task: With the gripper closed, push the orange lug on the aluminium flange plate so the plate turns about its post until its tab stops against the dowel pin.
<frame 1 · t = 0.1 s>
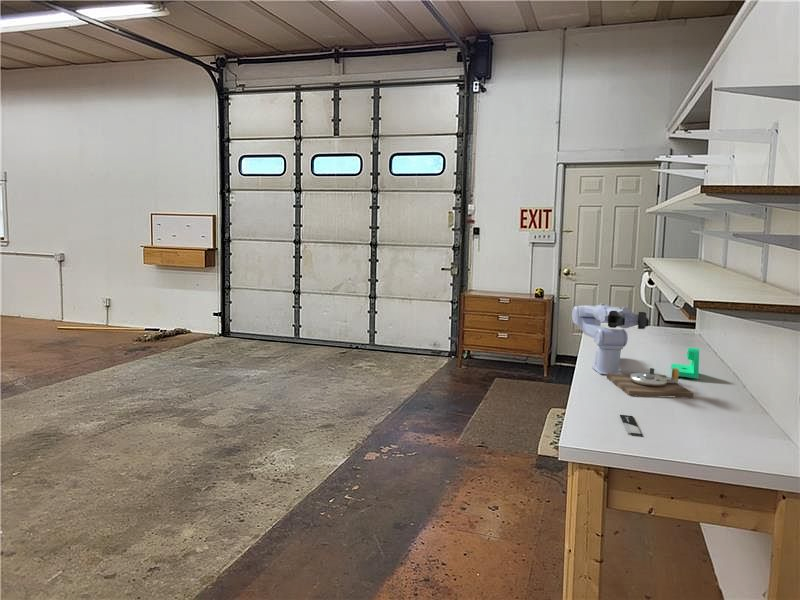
hand: (635, 322, 189), 22 cm above the workbench, tool horizontal, fingers open, 7 cm apart
computer memory module: (630, 428, 157), on the workbench
fixture board: (647, 387, 194), on the workbench
dowel pin: (650, 382, 200), resting on fixture board
flange plate: (654, 375, 193), point 4 cm above the workbench, hinge at 0.0°
camera mount: (683, 376, 211), on the workbench
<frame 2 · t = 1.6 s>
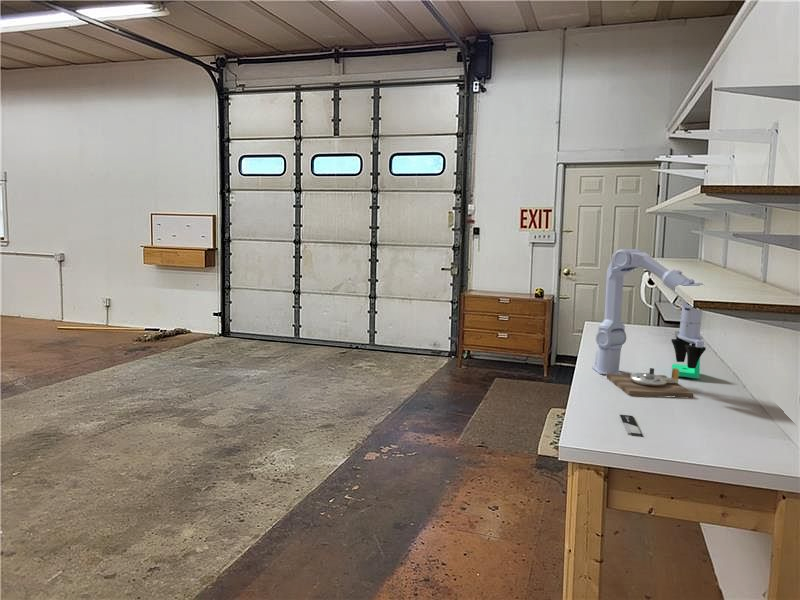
hand: (685, 364, 187), 9 cm above the workbench, tool pointing down, fingers open, 7 cm apart
nothing on the workbench moved.
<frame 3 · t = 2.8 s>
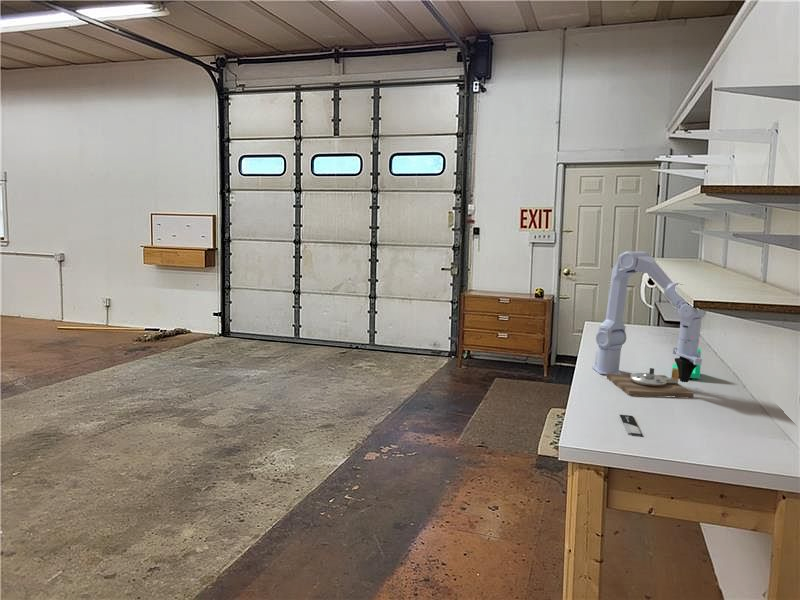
hand: (683, 381, 188), 4 cm above the workbench, tool pointing down, fingers closed
nothing on the workbench moved.
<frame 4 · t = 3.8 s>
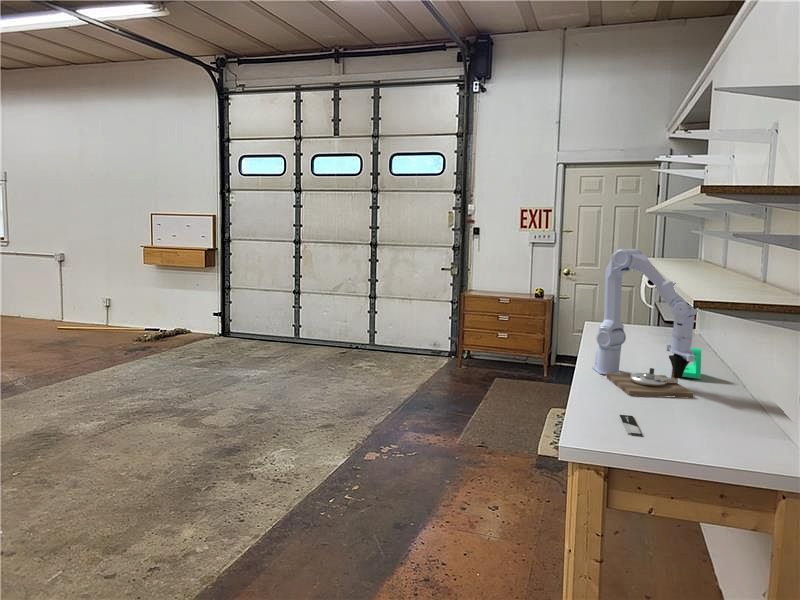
hand: (677, 378, 192), 4 cm above the workbench, tool pointing down, fingers closed
flange plate: (654, 375, 193), point 4 cm above the workbench, hinge at 1.1°, touching gripper
everything else where it was.
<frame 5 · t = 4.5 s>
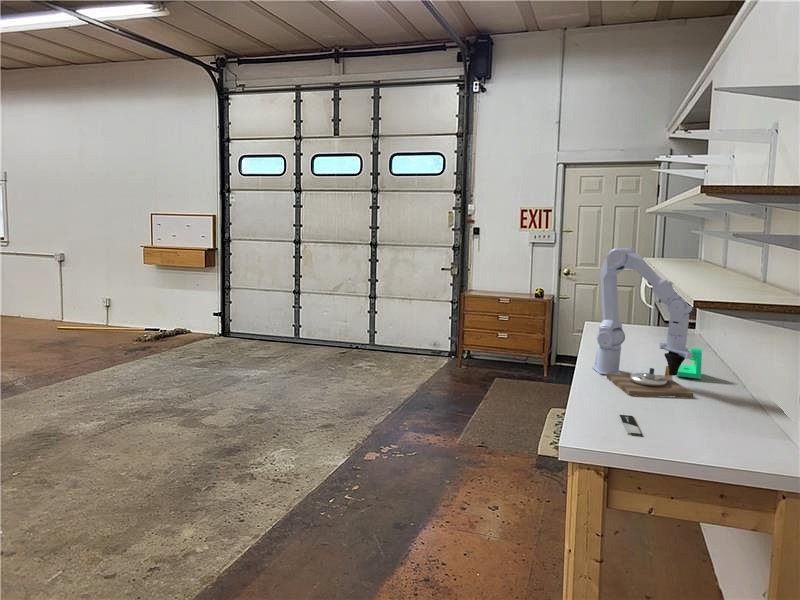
hand: (672, 375, 195), 4 cm above the workbench, tool pointing down, fingers closed
flange plate: (653, 374, 194), point 4 cm above the workbench, hinge at 21.5°, touching gripper
everything else where it was.
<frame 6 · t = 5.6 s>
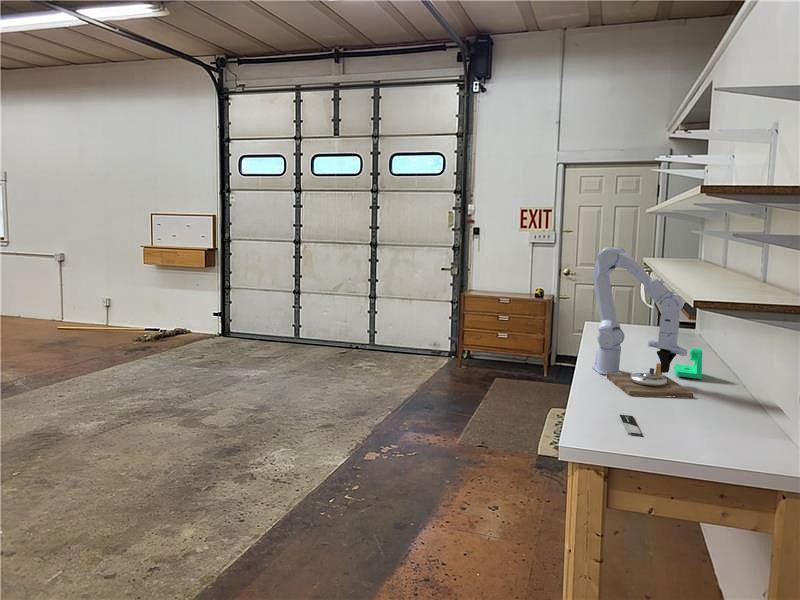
hand: (664, 372, 198), 4 cm above the workbench, tool pointing down, fingers closed
flange plate: (651, 374, 195), point 4 cm above the workbench, hinge at 45.0°, touching dowel pin, gripper
everything else where it was.
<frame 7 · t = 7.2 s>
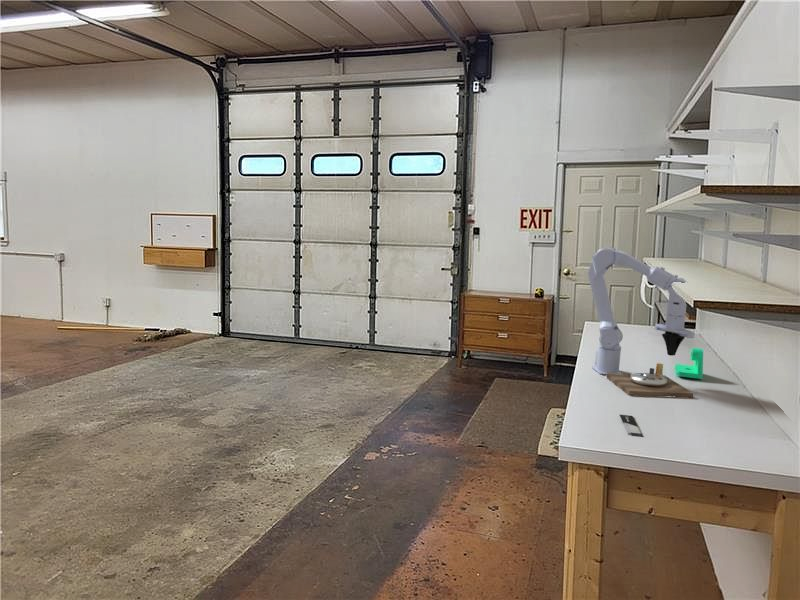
hand: (671, 355, 200), 9 cm above the workbench, tool pointing down, fingers closed
flange plate: (651, 374, 195), point 4 cm above the workbench, hinge at 44.9°
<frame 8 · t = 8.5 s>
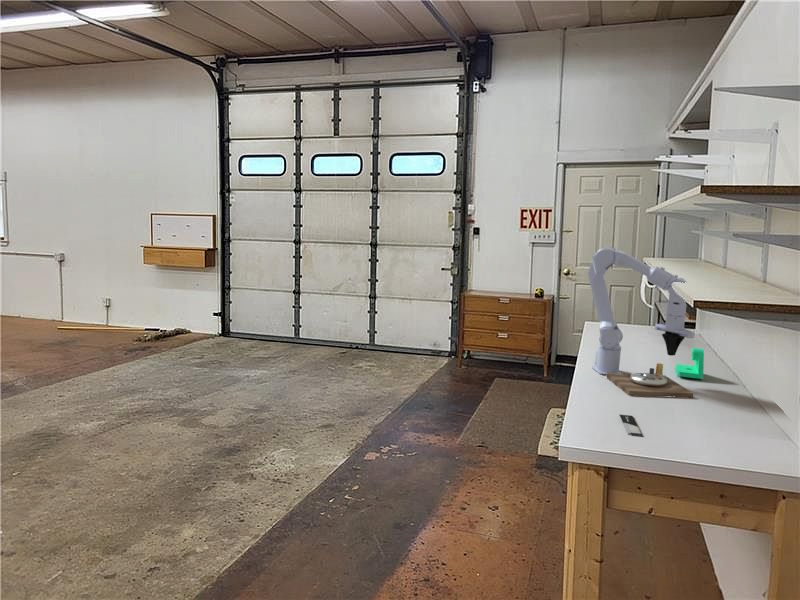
hand: (671, 355, 200), 9 cm above the workbench, tool pointing down, fingers closed
at the end: flange plate at +45° (first picture: +0°); camera mount moved 1.6 cm from its start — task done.
